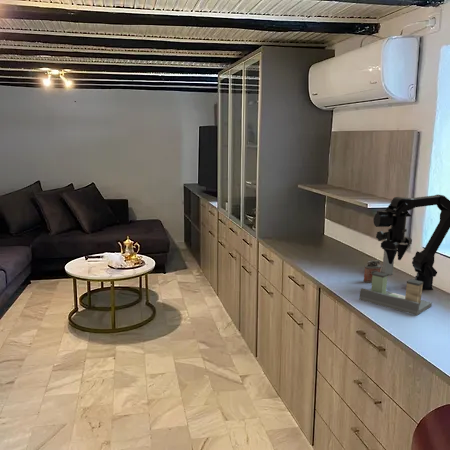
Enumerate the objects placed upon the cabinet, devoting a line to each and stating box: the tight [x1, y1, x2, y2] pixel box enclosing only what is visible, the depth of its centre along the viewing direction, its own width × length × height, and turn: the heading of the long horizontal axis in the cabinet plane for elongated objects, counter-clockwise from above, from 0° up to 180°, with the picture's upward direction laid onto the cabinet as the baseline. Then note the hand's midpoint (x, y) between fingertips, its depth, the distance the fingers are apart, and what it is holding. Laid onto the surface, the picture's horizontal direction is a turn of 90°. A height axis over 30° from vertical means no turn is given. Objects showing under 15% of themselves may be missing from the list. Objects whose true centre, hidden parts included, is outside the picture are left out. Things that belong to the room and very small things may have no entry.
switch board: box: [358, 288, 433, 316], centre depth 185 cm, size 15×23×4 cm, turn 47°
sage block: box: [370, 271, 389, 294], centre depth 188 cm, size 4×5×9 cm
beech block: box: [404, 278, 423, 303], centre depth 179 cm, size 4×5×9 cm
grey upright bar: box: [380, 239, 395, 276], centre depth 226 cm, size 4×5×25 cm
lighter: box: [362, 259, 382, 284], centre depth 212 cm, size 8×3×10 cm, turn 105°
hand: (394, 261), depth 202 cm, fingers open, 9 cm apart
